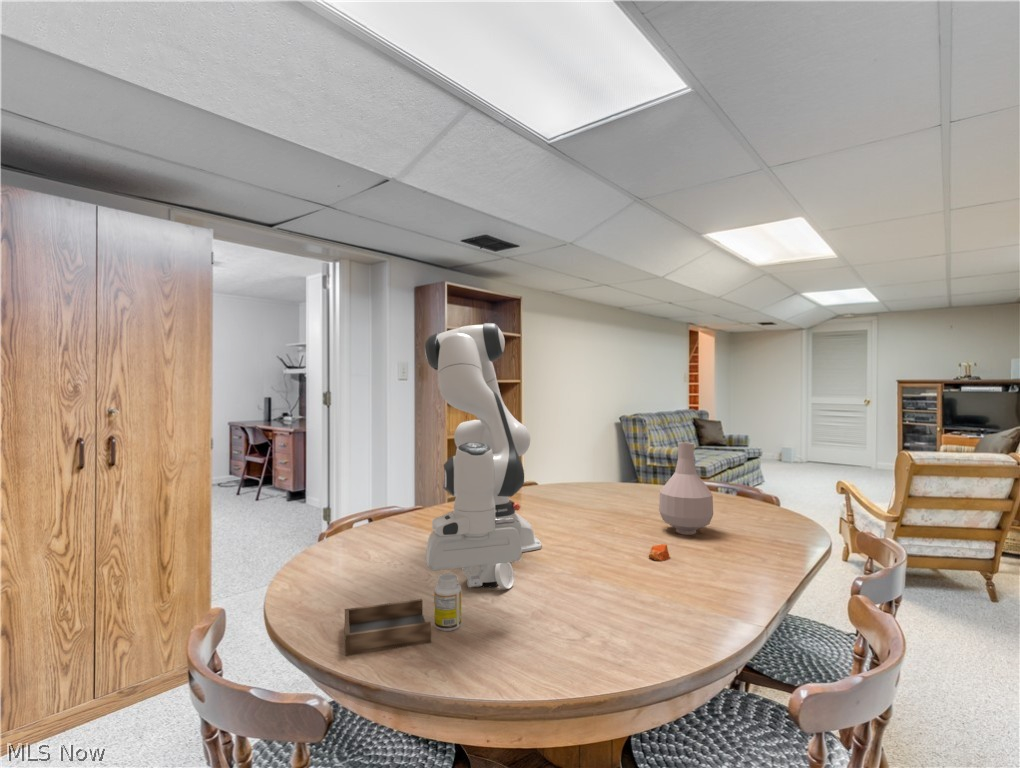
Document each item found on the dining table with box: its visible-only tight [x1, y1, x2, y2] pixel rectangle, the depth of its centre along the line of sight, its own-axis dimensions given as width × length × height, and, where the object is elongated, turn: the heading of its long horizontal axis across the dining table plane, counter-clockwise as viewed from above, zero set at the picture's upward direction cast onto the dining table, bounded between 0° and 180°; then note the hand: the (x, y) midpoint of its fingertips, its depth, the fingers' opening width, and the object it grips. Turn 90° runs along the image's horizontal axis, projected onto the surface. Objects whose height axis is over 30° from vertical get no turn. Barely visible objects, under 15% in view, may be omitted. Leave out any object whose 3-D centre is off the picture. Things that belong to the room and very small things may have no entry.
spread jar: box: [469, 562, 515, 590], centre depth 132 cm, size 12×11×12 cm
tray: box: [344, 598, 432, 657], centre depth 105 cm, size 16×12×4 cm
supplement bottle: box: [433, 573, 462, 632], centre depth 109 cm, size 6×6×10 cm
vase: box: [658, 441, 714, 536], centre depth 177 cm, size 18×18×30 cm
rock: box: [648, 543, 671, 562], centre depth 151 cm, size 12×12×4 cm
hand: (474, 585), depth 111 cm, fingers closed
